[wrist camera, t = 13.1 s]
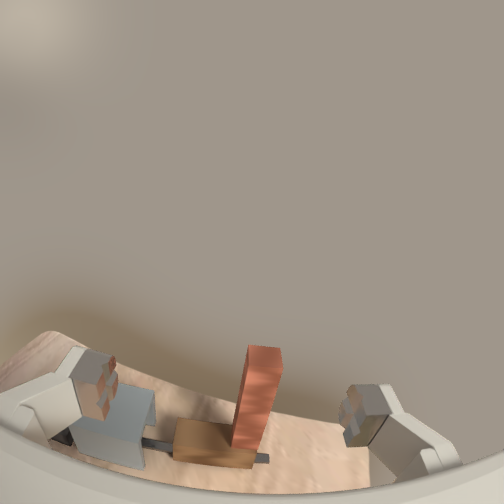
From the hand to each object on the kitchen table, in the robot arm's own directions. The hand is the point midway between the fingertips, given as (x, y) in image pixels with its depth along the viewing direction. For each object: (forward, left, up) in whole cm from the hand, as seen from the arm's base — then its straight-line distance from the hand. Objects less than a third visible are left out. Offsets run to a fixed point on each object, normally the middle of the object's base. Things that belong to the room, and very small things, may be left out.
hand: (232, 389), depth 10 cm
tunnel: (-12, +16, -30) cm, 36 cm away
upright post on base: (+1, +16, -29) cm, 33 cm away
